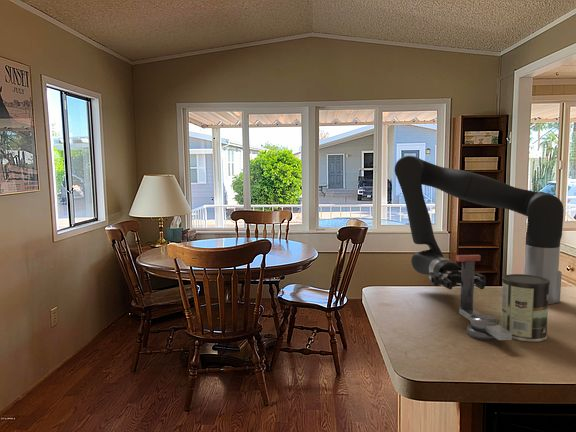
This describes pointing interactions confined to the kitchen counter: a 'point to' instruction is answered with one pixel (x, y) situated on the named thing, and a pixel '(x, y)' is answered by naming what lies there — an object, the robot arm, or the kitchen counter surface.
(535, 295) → the coffee can
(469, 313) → the crank
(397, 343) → the kitchen counter surface
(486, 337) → the base
